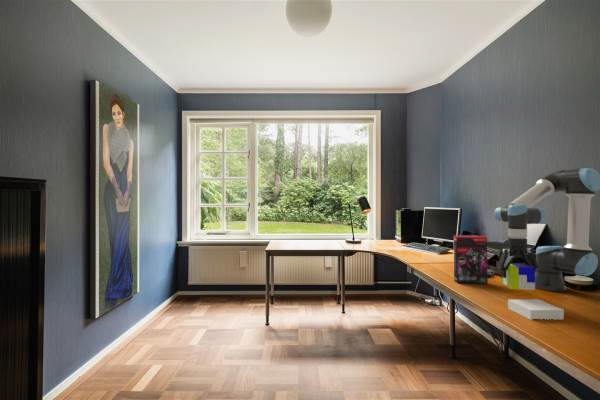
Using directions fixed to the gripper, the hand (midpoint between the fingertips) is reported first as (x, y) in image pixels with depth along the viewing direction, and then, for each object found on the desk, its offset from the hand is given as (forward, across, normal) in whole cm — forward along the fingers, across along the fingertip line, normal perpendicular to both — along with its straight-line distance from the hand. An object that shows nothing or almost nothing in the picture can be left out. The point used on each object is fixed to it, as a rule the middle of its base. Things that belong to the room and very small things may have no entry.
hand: (518, 284), depth 160 cm
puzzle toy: (+1, 0, 0) cm, 1 cm away
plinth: (+9, +3, +14) cm, 17 cm away
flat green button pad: (+11, -15, -61) cm, 63 cm away
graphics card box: (+10, +2, -39) cm, 40 cm away
